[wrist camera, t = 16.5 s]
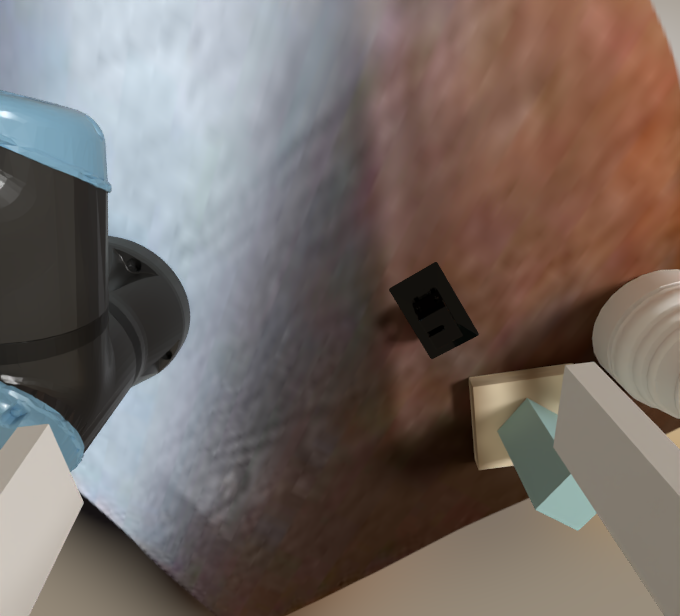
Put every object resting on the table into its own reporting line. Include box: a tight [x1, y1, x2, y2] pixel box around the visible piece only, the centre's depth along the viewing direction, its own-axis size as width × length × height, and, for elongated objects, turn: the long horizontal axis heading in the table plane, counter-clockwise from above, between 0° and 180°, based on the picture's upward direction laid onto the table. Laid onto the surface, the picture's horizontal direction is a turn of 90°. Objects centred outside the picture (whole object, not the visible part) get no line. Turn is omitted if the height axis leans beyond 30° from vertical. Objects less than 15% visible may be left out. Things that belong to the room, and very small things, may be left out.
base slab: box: [469, 363, 573, 470], centre depth 55 cm, size 11×11×2 cm
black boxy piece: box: [389, 262, 479, 359], centre depth 49 cm, size 12×7×5 cm, turn 32°
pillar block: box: [497, 398, 596, 531], centre depth 49 cm, size 5×5×11 cm
